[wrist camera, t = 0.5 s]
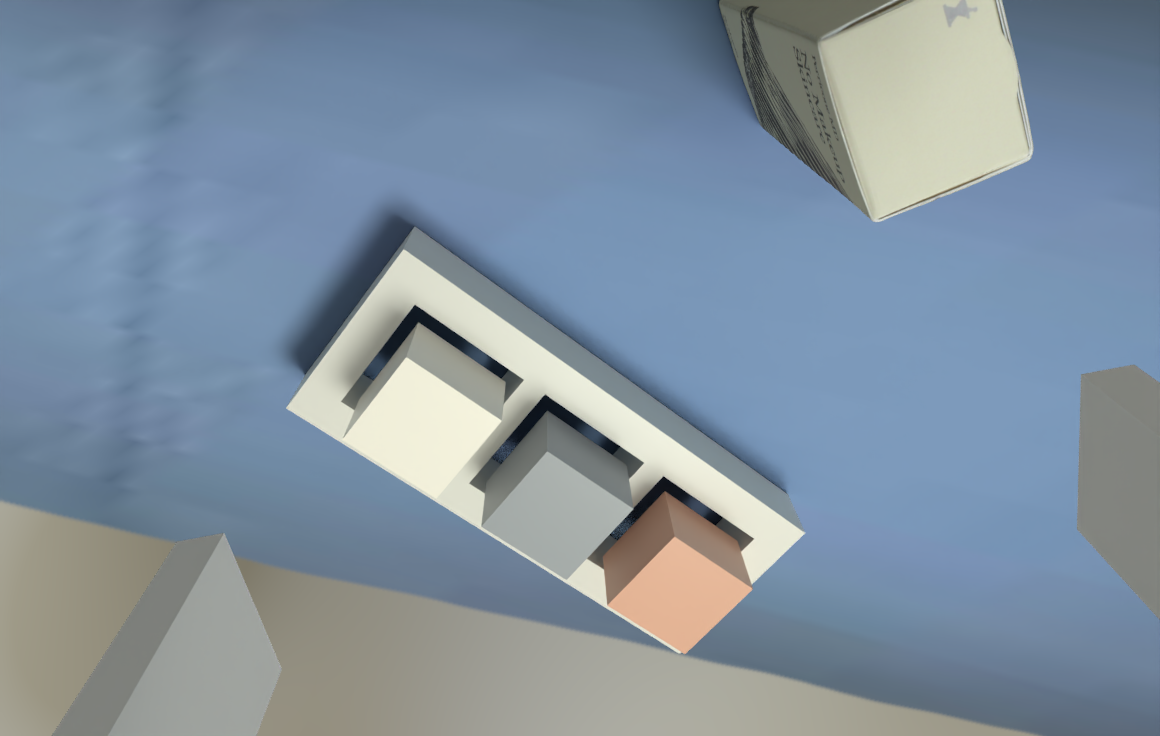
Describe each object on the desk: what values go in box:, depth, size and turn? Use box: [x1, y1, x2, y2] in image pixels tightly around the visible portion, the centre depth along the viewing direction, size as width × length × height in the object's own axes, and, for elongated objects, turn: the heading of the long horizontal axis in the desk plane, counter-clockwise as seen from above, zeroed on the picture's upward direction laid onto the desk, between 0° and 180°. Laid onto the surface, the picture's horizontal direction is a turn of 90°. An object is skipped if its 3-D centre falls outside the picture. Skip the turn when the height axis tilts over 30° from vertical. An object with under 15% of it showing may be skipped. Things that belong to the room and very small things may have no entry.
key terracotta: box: [603, 491, 753, 654], centre depth 37 cm, size 4×4×3 cm
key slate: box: [481, 411, 633, 580], centre depth 36 cm, size 4×4×3 cm
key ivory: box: [342, 322, 506, 499], centre depth 34 cm, size 4×4×3 cm
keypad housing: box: [286, 227, 805, 654], centre depth 38 cm, size 20×8×3 cm, turn 52°
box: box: [719, 0, 1033, 222], centre depth 28 cm, size 5×4×13 cm
